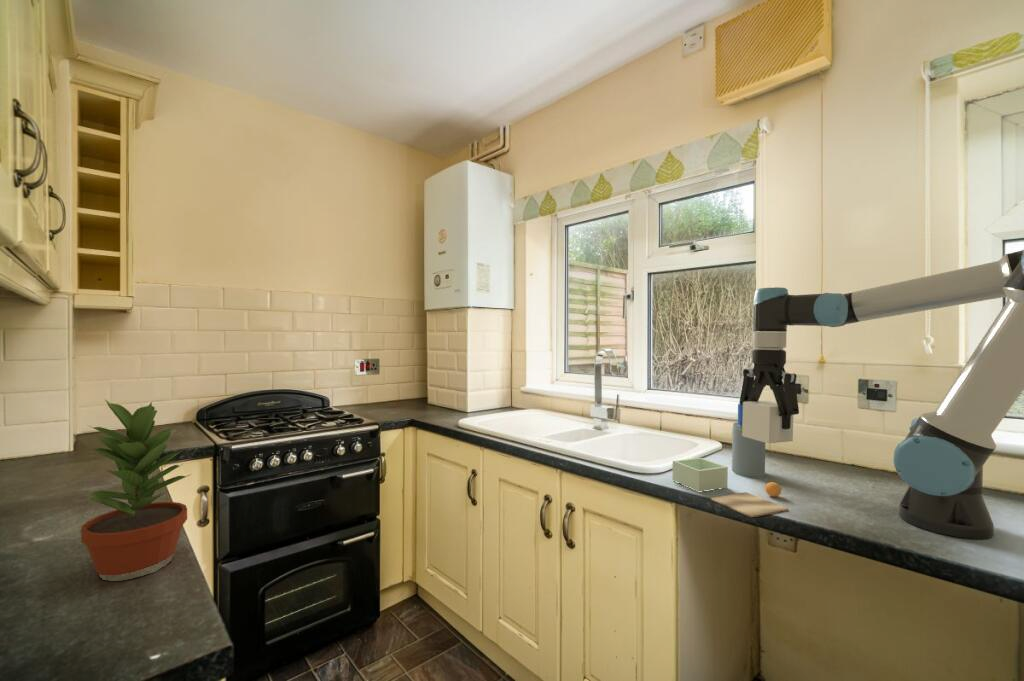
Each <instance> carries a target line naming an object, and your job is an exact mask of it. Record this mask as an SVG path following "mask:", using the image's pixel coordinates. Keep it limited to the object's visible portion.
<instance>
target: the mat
mask: <svg viewBox="0 0 1024 681" xmlns="http://www.w3.org/2000/svg"><path fill="white" fill-rule="evenodd" d="M710 501H713V502H715V503H718V504H720V505H722V506H724V507H727V508H728V509H731V510H733V511H735V512H738V513H740V514H742V515H745V516H747V517H750V518H751V519H752V518H757V517H762V516H768V515H771V514H778V513H781V511H783V512H787V510H788V511H789V510H790V509H789V508H788V507H786V506H784V505H783V506H782V505H780V504H777V503H775V502H772V501H770V500H768V499H764V498H763V497H759V496H757V495H754V494H751V493H749V492H746V491H745V492H738V493H734V494H727V495H722V496H715V497H714V496H713V497H710Z"/></svg>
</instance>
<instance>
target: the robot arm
mask: <svg viewBox="0 0 1024 681" xmlns="http://www.w3.org/2000/svg"><path fill="white" fill-rule="evenodd" d="M753 296H754V298H753V305H752V309H753V311H752V313H753V316H752V318H753V321H752V322H753V323H752V326H753V327H752V347H753V348H754V349H753V350H752V352H751V353H752V354H751V362H752V363H753V368H747V369H746V368H744V369H743V370H742V373H743V379H742V387H741V390H740V391H741V392H740V398H739V404H740V405H743V402H749V401H760V398H761V395H762V392H763V390H764V389H765V387H766V386H768V387H769V388H770V390H771V391H772V394H773V396H774V400H775V402H777V405H778V408H779V411H780V414H778V415H777V442H779V443H787V440H788V429H790V420H791V416H792V415H793V416H795V415H799V414H800V410H799V402H798V394H797V387H796V386H797V385H796V383H797V382H796V381H797V376H798V375H797V374H796V373H790V372H786V370H785V365H786V363H787V351H786V350H785V348H787V332H788V326H811V327H813V326H817V327H830V328H838V327H843V326H845V325H850V324H854V323H860V322H865V321H866V322H867V321H870V320H876V319H877V320H878V319H883V318H889V317H894V316H901V315H906V314H908V315H909V314H913V313H919V312H923V311H924V312H925V311H929V310H930V311H931V310H935V309H937V310H938V309H942V308H948V307H953V306H954V307H955V306H960V305H965V304H966V305H967V304H971V303H978V302H983V301H988V300H990V301H991V300H996V299H1000V298H1007V300H1006V302H1005V303H1004V305H1003V307H1002V308H1001V310H1000V311H999V313H998V314H997V316H996V317H995V319H994V320H993V322H992V324H991V325H990V327H989V328H988V330H987V331H986V332H985V334H984V335H983V336H982V339H981V340H980V342H979V343H978V345H977V346H976V348H975V350H974V351H973V352H972V354H971V356H970V357H969V358H968V359H967V361H966V363H965V364H964V366H963V368H962V369H961V371H960V372H959V374H958V375H957V377H956V378H955V380H954V382H953V383H952V385H951V386H950V387H949V389H948V390H947V392H946V394H945V395H944V397H943V398H942V400H941V401H940V403H939V405H938V406H937V408H936V409H935V410H933V411H930V412H926V413H921V414H920V415H919V417H917V418H913V419H912V420H911V422H910V427H909V433H907V436H906V437H905V438H904V440H902V441H901V442H900V443H898V444H897V446H896V447H895V448H894V452H893V465H894V469H895V470H896V473H897V474H898V475H899V478H901V479H902V481H903V482H905V483H906V484H907V485H908V486H907V488H906V490H905V492H904V494H903V497H902V499H901V501H900V503H899V506H898V507H899V508H898V517H900V518H901V519H902V520H904V521H905V522H906V523H908V524H911V525H912V526H915V527H918V528H920V529H923V530H927V531H929V532H933V533H937V534H942V535H947V536H951V537H956V538H961V539H962V538H963V539H969V540H971V539H972V540H985V539H990V538H992V537H993V536H994V529H995V526H994V522H993V520H992V517H991V515H990V512H989V510H988V507H987V505H986V504H987V503H986V502H985V499H984V498H983V483H984V482H983V477H984V476H983V474H984V473H983V472H984V471H983V470H984V465H985V463H986V462H987V460H988V459H989V458H990V456H992V454H993V452H994V451H995V450H996V449H997V444H996V442H995V441H994V438H993V436H992V435H993V433H994V432H995V430H996V429H997V428H998V426H999V425H1000V424H1001V421H1003V419H1004V418H1005V416H1006V415H1007V413H1008V412H1009V411H1010V409H1011V408H1012V406H1013V405H1014V403H1015V402H1016V401H1017V399H1018V398H1019V397H1020V395H1021V394H1022V393H1023V391H1024V249H1022V250H1019V251H1013V252H1011V253H1010V252H1009V253H1006V254H1004V255H1003V256H1001V258H1000V259H999V260H997V261H992V262H987V263H983V264H977V265H973V266H969V267H965V268H964V267H963V268H959V269H955V270H950V271H945V272H941V273H936V274H933V275H926V276H922V277H917V278H914V279H913V278H912V279H908V280H904V281H899V282H894V283H889V284H885V285H880V286H876V287H873V288H872V287H871V288H870V287H869V288H866V289H862V290H857V291H853V292H847V293H840V292H839V293H838V292H836V293H833V292H823V293H812V294H811V293H810V294H789V290H788V289H787V288H786V287H777V286H776V287H763V288H758V289H756V290H755V292H754V295H753Z"/></svg>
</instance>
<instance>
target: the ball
mask: <svg viewBox="0 0 1024 681" xmlns="http://www.w3.org/2000/svg"><path fill="white" fill-rule="evenodd" d="M764 489H765V492H766V494H767V495H768V496H770V497H772V498H776V497H777V498H778V497H779V496H780V495H781V494H782V488H781V486H780V485H779V484H778V483H777V482H773V481H771V482H768V483H766V485H765V488H764Z"/></svg>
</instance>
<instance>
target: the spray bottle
mask: <svg viewBox="0 0 1024 681" xmlns="http://www.w3.org/2000/svg"><path fill="white" fill-rule="evenodd" d="M742 421H743V405H740V403H738V404H737V422H733V423H732V428H731V430H732V433H731V434H732V435H731V437H732V438H731V440H732V442H731V443H732V444H731V447H732V449H731V472H732V471H733V472H734V474H735V473H736V474H735V475H738V474H739V475H738V476H741V475H742V476H741V477H746V476H747V477H748V478H764V477H765V476H766V443H765V442H762V441H758V440H754V439H751V438H747V437H744V436H742ZM733 472H732V473H733ZM747 477H746V478H747Z"/></svg>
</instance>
